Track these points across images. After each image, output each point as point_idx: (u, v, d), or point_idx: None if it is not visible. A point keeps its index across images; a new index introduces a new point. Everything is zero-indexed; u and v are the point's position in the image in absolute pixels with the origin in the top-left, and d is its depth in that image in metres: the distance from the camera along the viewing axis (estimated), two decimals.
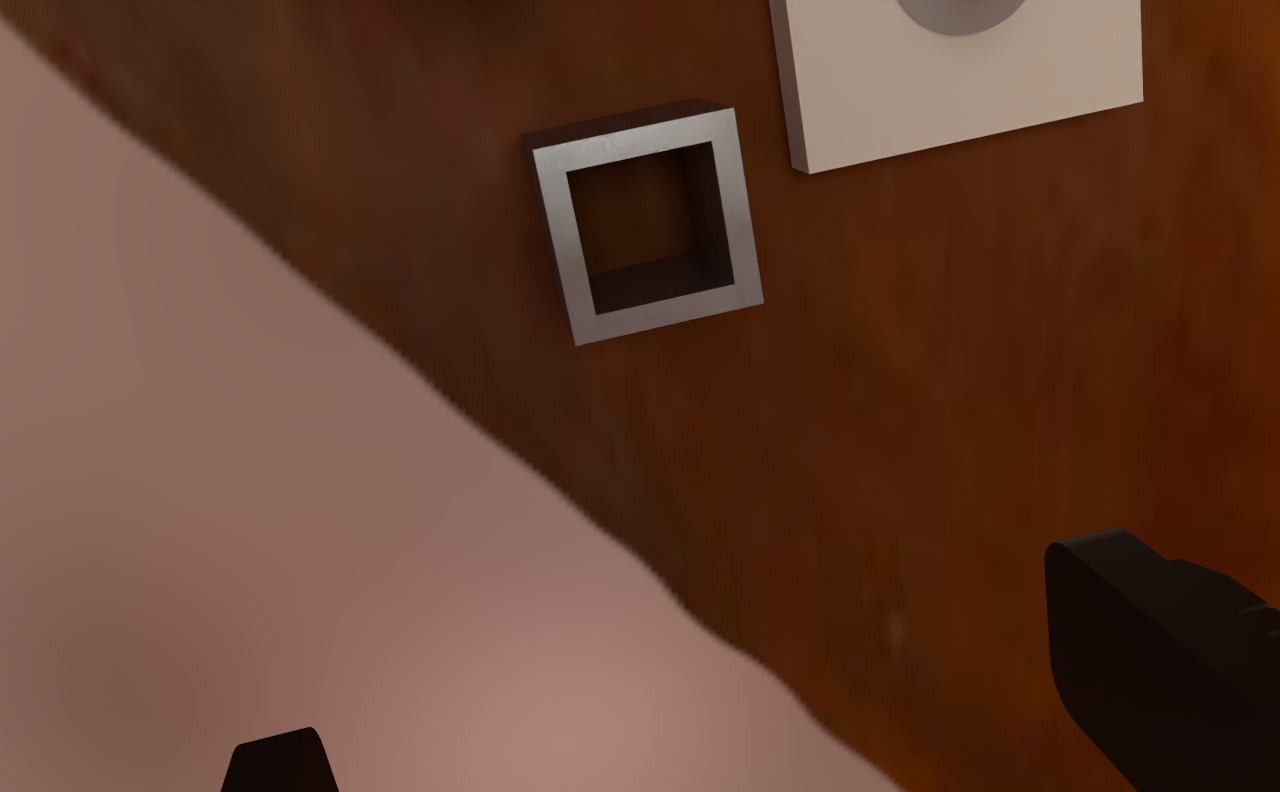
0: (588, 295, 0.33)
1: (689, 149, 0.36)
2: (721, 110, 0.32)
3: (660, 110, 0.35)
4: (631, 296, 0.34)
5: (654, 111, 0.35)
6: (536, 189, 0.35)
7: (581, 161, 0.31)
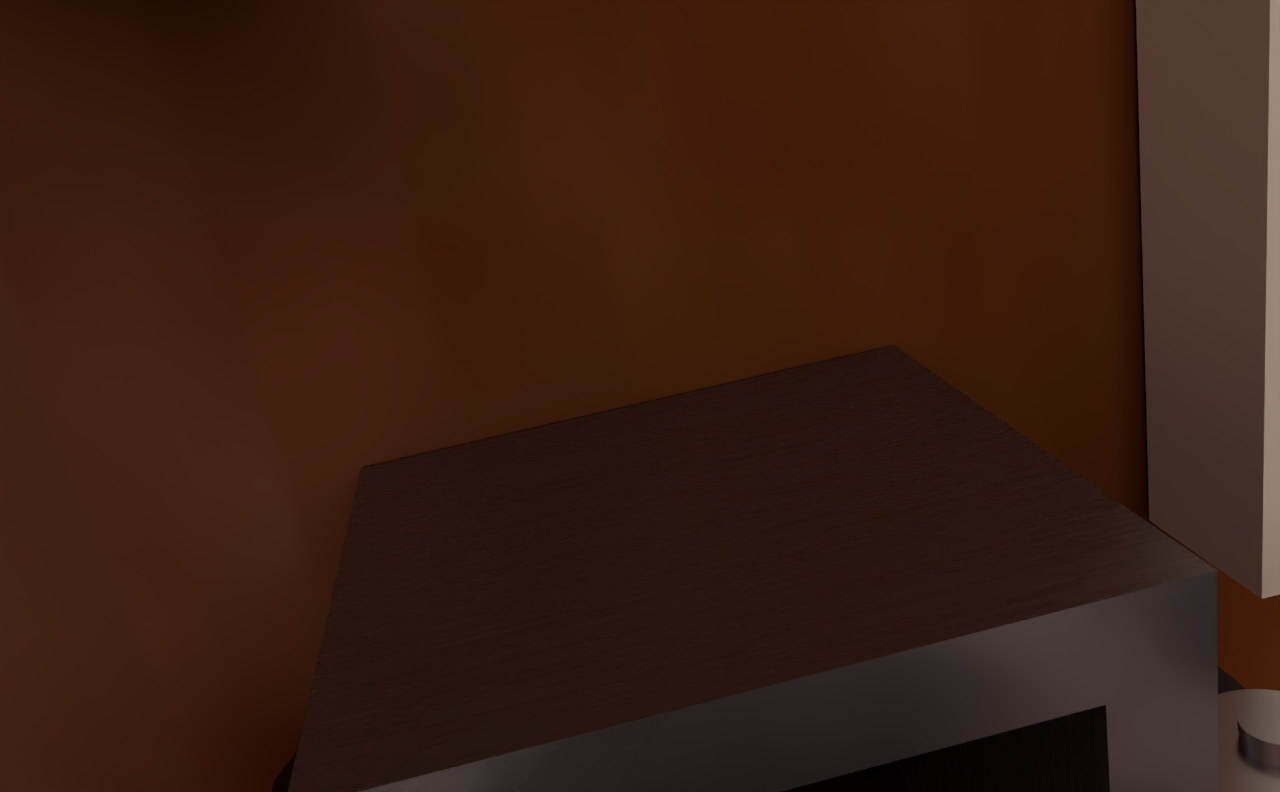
0: None
1: None
2: (1162, 583, 0.07)
3: (811, 430, 0.10)
4: None
5: (789, 430, 0.10)
6: None
7: None
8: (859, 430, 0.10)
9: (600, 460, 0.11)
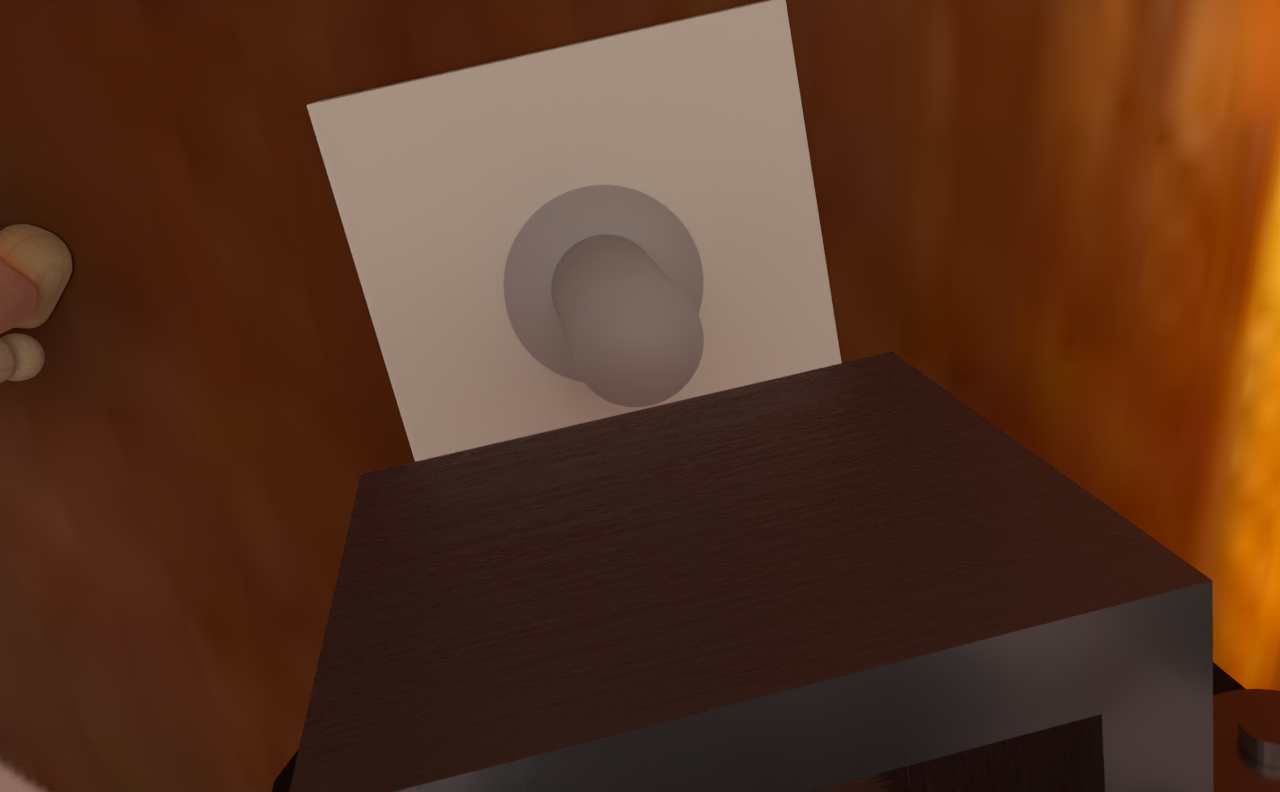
0: None
1: None
2: (1157, 593, 0.07)
3: (809, 437, 0.10)
4: None
5: (787, 437, 0.10)
6: None
7: None
8: (857, 437, 0.10)
9: (599, 467, 0.11)
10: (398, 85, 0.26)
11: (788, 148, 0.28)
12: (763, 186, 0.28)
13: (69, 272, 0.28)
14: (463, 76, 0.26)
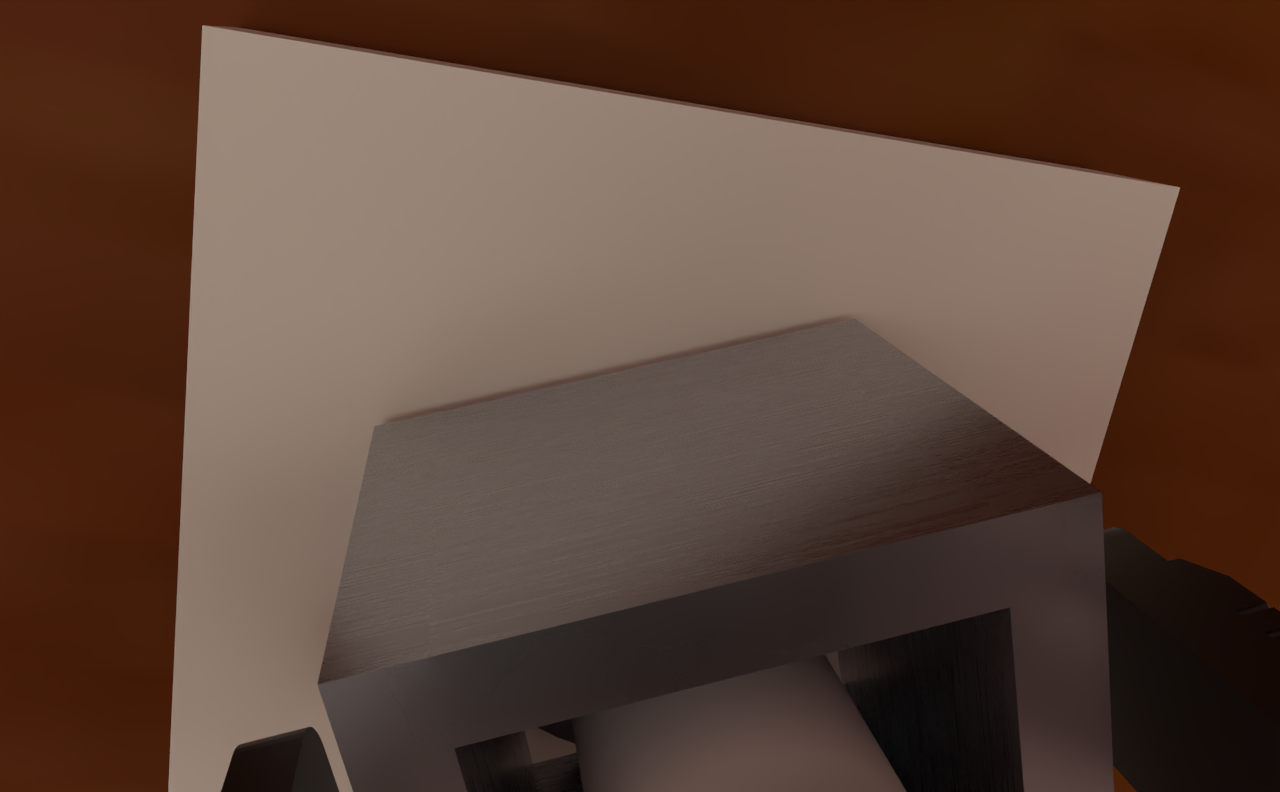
0: None
1: None
2: (1055, 503, 0.08)
3: (775, 389, 0.12)
4: None
5: (756, 390, 0.12)
6: None
7: (516, 707, 0.08)
8: (817, 389, 0.11)
9: (588, 416, 0.12)
10: (170, 788, 0.14)
11: (533, 127, 0.12)
12: (592, 208, 0.13)
13: None
14: (185, 687, 0.14)
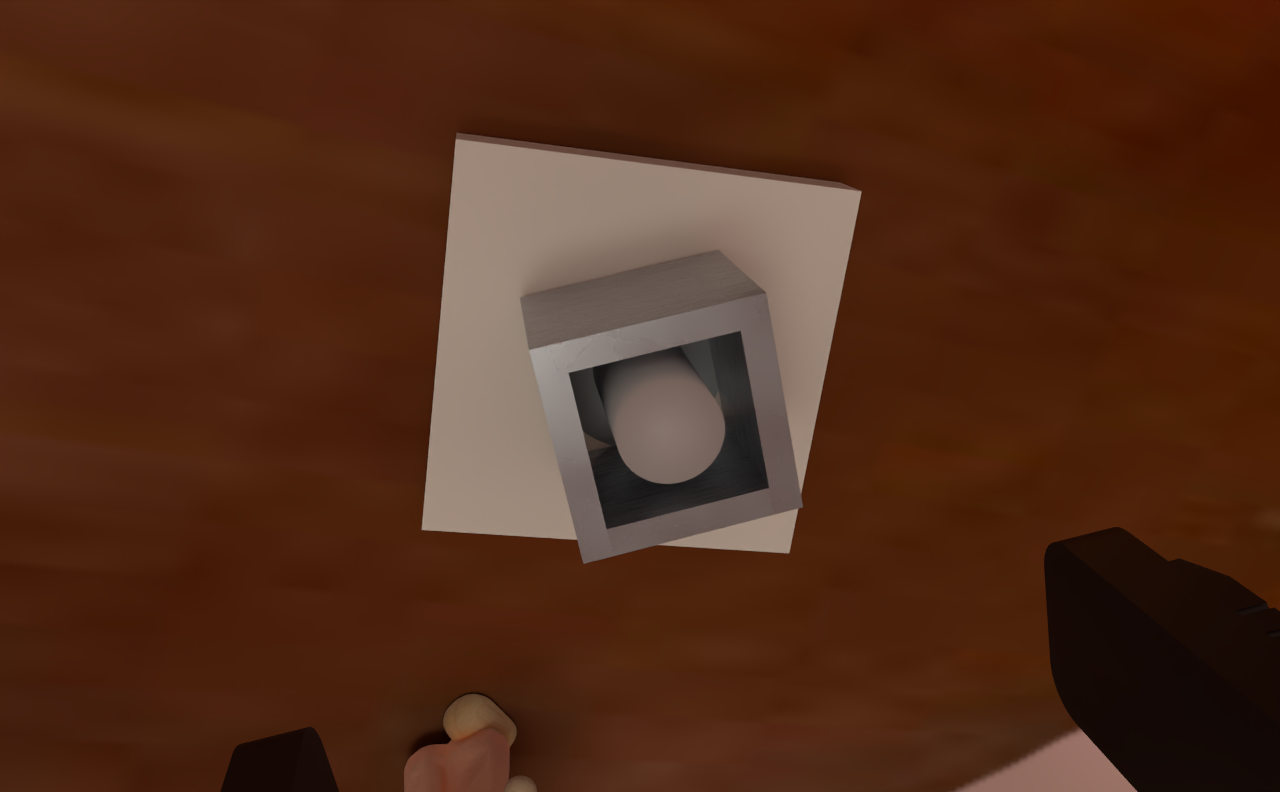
0: (597, 508, 0.28)
1: None
2: (751, 296, 0.27)
3: (679, 275, 0.30)
4: (647, 497, 0.29)
5: (672, 275, 0.30)
6: None
7: (587, 360, 0.27)
8: (694, 273, 0.30)
9: (607, 288, 0.30)
10: (428, 463, 0.33)
11: (582, 174, 0.31)
12: (607, 206, 0.31)
13: (487, 700, 0.38)
14: (437, 415, 0.33)
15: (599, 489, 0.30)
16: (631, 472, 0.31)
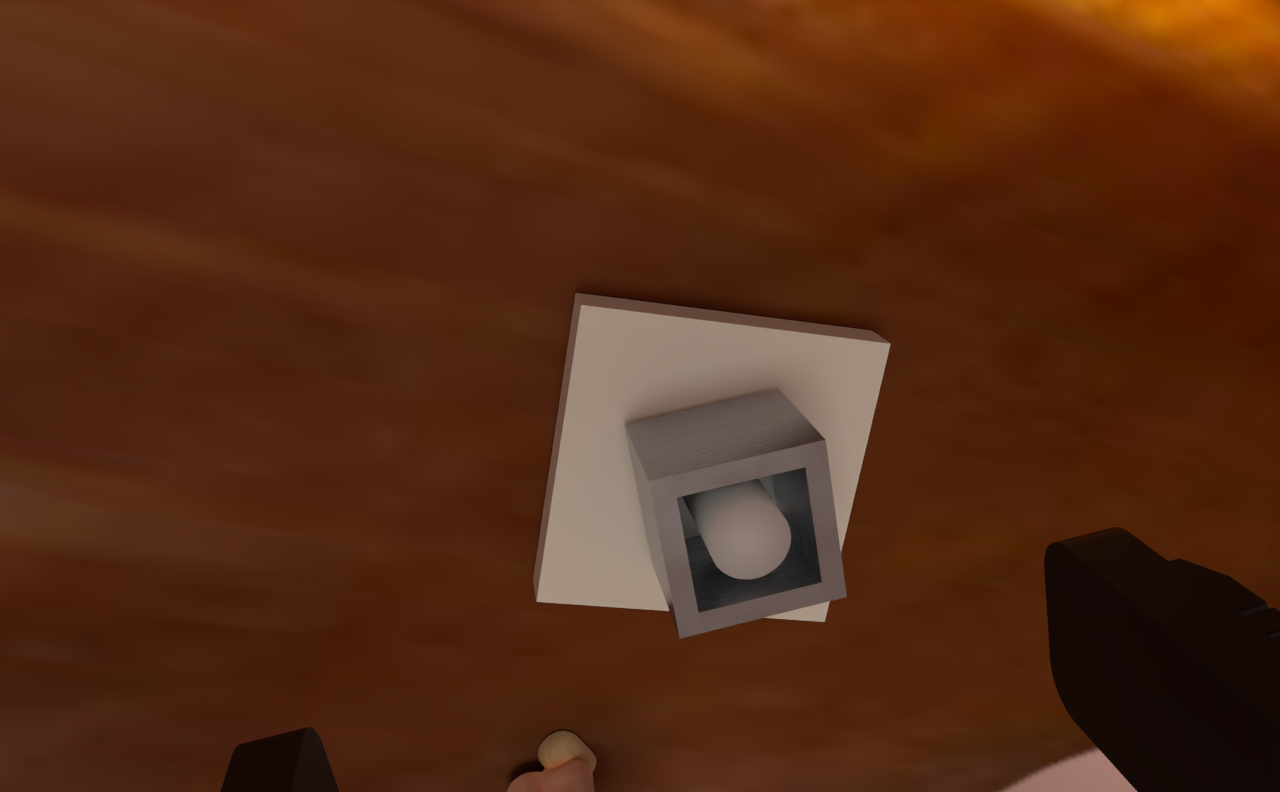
0: (692, 597, 0.37)
1: None
2: (814, 442, 0.36)
3: (752, 413, 0.39)
4: (726, 585, 0.38)
5: (746, 413, 0.39)
6: (639, 482, 0.39)
7: (690, 488, 0.35)
8: (764, 413, 0.39)
9: (695, 421, 0.39)
10: (544, 549, 0.42)
11: (676, 330, 0.40)
12: (694, 354, 0.40)
13: (574, 735, 0.47)
14: (553, 513, 0.41)
15: None
16: (709, 563, 0.40)
